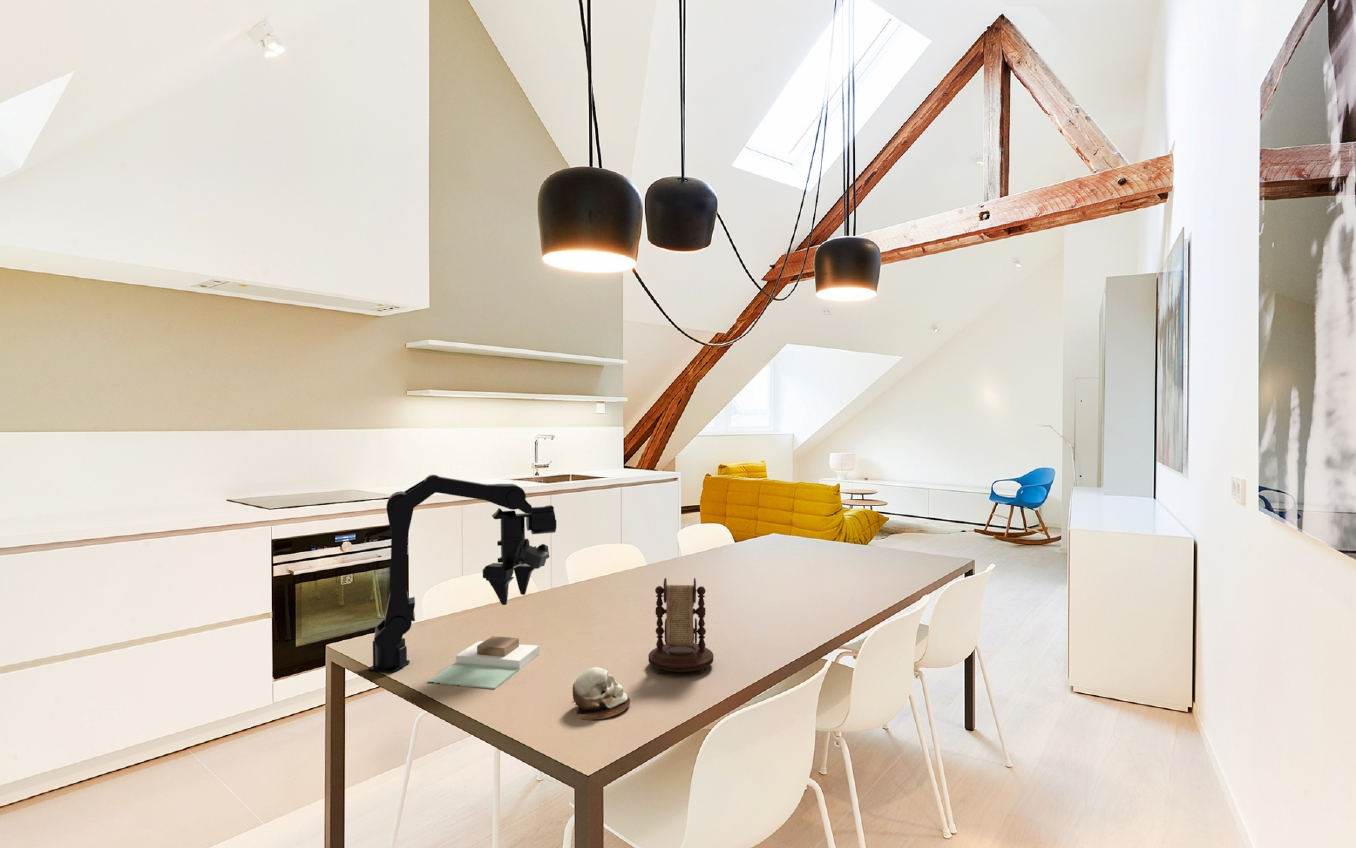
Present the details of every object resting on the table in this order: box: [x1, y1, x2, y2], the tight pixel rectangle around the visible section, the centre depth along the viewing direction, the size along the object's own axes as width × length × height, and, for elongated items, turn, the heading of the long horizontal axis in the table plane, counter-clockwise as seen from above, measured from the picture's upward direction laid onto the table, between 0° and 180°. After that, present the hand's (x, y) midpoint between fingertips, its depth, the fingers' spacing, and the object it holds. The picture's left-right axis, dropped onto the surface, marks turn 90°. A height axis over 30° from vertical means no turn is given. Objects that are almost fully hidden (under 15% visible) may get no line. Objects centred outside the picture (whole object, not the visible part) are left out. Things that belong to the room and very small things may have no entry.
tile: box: [477, 635, 520, 657], centre depth 156 cm, size 7×7×2 cm
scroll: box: [648, 577, 714, 675], centre depth 150 cm, size 15×15×20 cm
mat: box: [427, 662, 520, 690], centre depth 145 cm, size 16×11×1 cm
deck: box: [455, 640, 540, 671], centre depth 156 cm, size 16×10×2 cm, turn 76°
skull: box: [571, 666, 631, 721], centre depth 129 cm, size 12×10×10 cm
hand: (513, 599), depth 162 cm, fingers open, 9 cm apart
